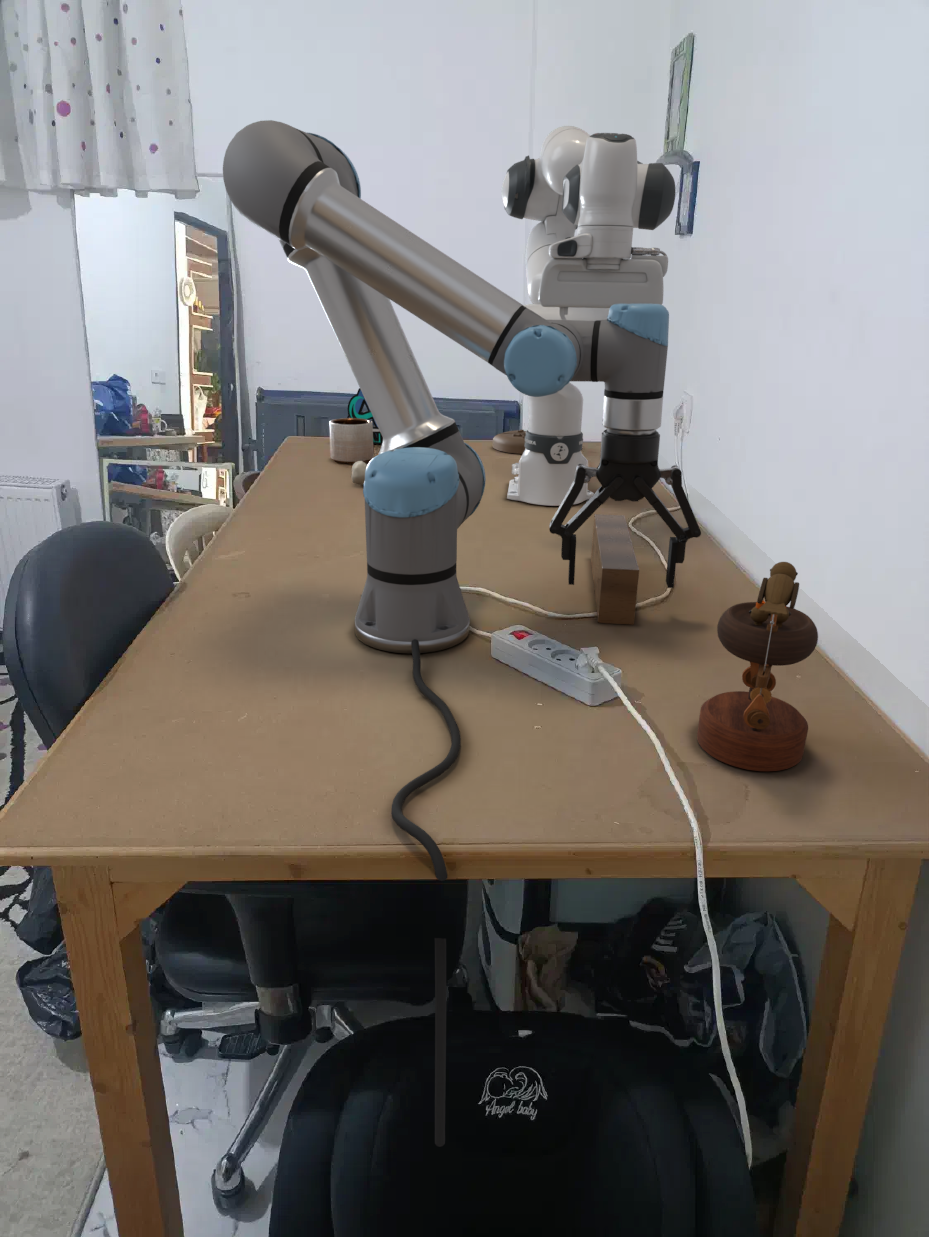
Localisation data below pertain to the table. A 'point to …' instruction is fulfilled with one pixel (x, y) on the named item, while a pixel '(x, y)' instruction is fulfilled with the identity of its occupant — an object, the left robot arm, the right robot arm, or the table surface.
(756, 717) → the wooden figurine sculpture
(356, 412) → the decorative sign
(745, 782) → the table surface
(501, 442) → the brown rounded slab
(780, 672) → the table surface
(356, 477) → the dog toy
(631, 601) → the bar
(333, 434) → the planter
